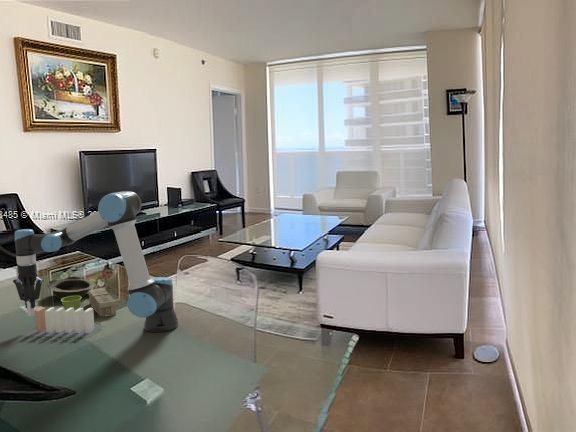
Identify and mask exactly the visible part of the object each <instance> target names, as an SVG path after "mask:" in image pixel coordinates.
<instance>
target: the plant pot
mask: <svg viewBox="0 0 576 432" xmlns="http://www.w3.org/2000/svg"><path fill="white" fill-rule="evenodd" d="M82 298H83V297H81V296H68V297H65V298H62V299H61V300H60V301H61V302H62V303H61V304H62V305H63V308H64V310H67V309H69V308H74V311H75V310H77V309H79V308H81V301H82Z"/></svg>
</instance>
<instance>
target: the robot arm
mask: <svg viewBox="0 0 576 432" xmlns="http://www.w3.org/2000/svg"><path fill="white" fill-rule="evenodd" d="M97 208H98V209H97V211H95V212H94V213H91V214H90V215H88V216H85V217H84V218H82V219H80V220H78V221H76V222H73V223H72V224H70V225H68V226H66V227H64V228H61V229H60V230H56V231H53V232H48V233H45V234H37V233H36V234H35V231H34V230H33V229H30V228H26V229H25V228H24V229H18V230H15V232H14V245H15V252H16V253H15V254H16V256H15V258H16V264H17V266H16V267H17V278H15V279H13V280H12V283H13V284H14V285H15V288H16V291H17V294H18V297H19V300H20V301H23V302H24V305H25V309H26V310H27V316H28V317H32V316H35V308H36V301H37V300H39V299H40V297H41V296H40V294H41V289H42V284H43V282H44V278H40V277H39V275H38V273H37V272H38V269H37V268H38V267H37V257H36V256H37V255H36V252H43V253H45V252H46V253H51V252H53V253H54V252H58V251H59V250H60V249H61V248H62V247H65V246H66V247H67V246H71V245H72V244H75V242H76V241H78V240H80V239H83V238H84V237H87V236H89V235H90V234H92V233H94V232H96V231H99V230H100V229H102V228H104V227H106V226H108V228H110V229H111V230H113V233H114V235H115V238H116V242H117V246H118V249H119V253H120V255H121V259H122V261H123V266H124V269H125V272H126V275H127V279H128V283H129V285H128V286H127V292H128V295H129V296H128V298H127V301H126V306H127V309H128V311H129V312H130V313H131V314H132V315H133V316H135V317H137V318H140V319H141V318H145V320H144V323H143V325H144V326H143V328H144V330H145V331H147V332H150V333H164V332H169V331H172V330H174V329H176V328H178V326H179V320H178V316H177V314H176V312H175V310H174V285H173V278H170V277H165V276H164V277H163V276H157V277H150V273H149V270H148V266H147V264H146V260H145V256H144V253H143V249H142V247H141V243H140V240H139V239H140V238H139V237H138V232H137V228H136V226H135V224H136V222H137V217H136V215H137V214H139V212H140V211H141V209H142V199H141V198H140V196H139V195H138V194H137V193H136V192H134V191H130V190H124V191H123V190H122V191H115V192H111V193H108V194H106V195H104V196H103V197H102V198H101V199H100V200H99V203H98V206H97Z"/></svg>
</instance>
